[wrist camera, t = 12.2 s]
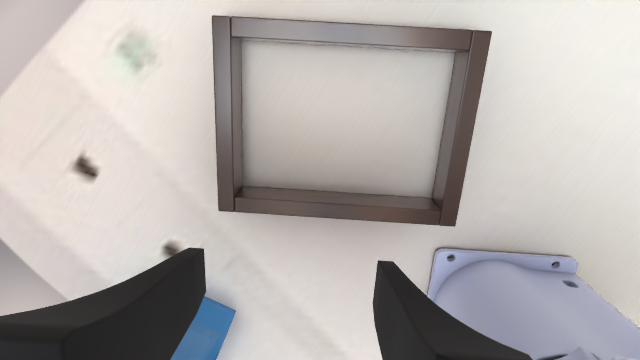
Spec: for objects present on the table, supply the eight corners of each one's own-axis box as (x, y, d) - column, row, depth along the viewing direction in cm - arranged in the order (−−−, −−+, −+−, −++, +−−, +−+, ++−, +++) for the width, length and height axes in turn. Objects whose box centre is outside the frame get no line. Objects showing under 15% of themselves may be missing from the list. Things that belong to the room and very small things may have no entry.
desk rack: (476, 35, 20) (492, 30, 18) (444, 212, 23) (455, 227, 21) (223, 20, 20) (211, 15, 18) (228, 198, 24) (218, 211, 21)
